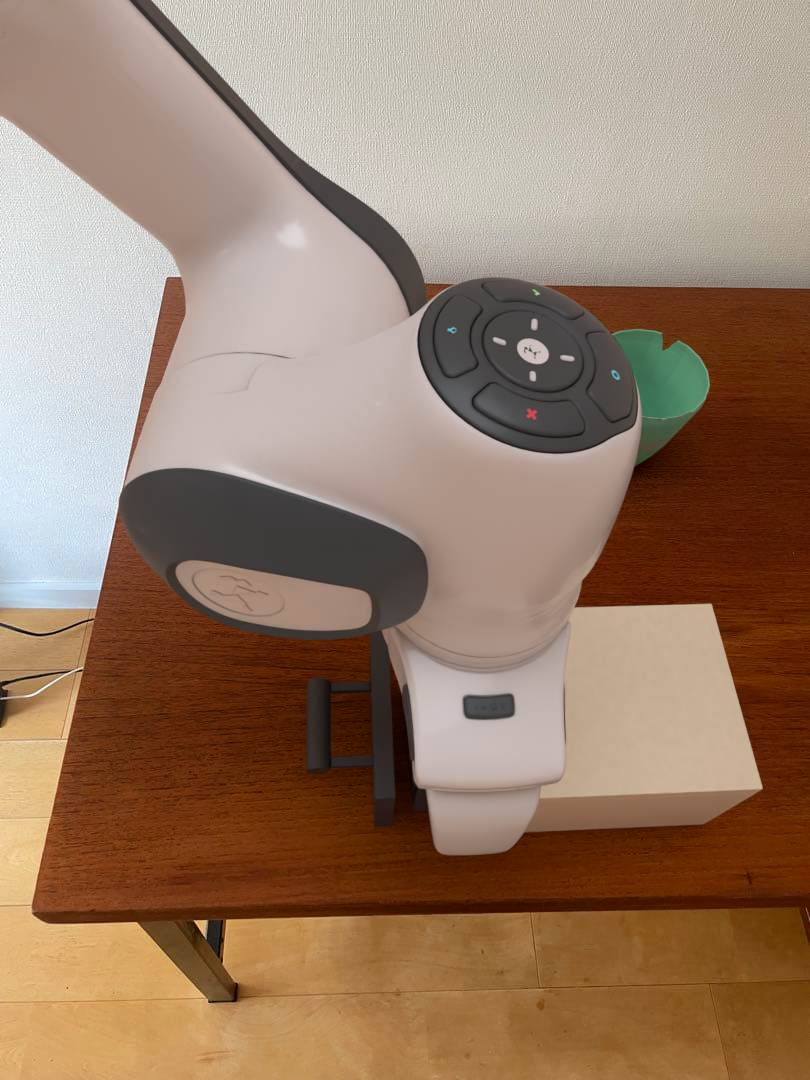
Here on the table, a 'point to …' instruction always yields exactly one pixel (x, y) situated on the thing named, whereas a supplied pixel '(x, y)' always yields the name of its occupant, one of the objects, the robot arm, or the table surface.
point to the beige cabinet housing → (648, 723)
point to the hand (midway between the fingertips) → (447, 698)
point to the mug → (663, 385)
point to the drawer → (380, 732)
